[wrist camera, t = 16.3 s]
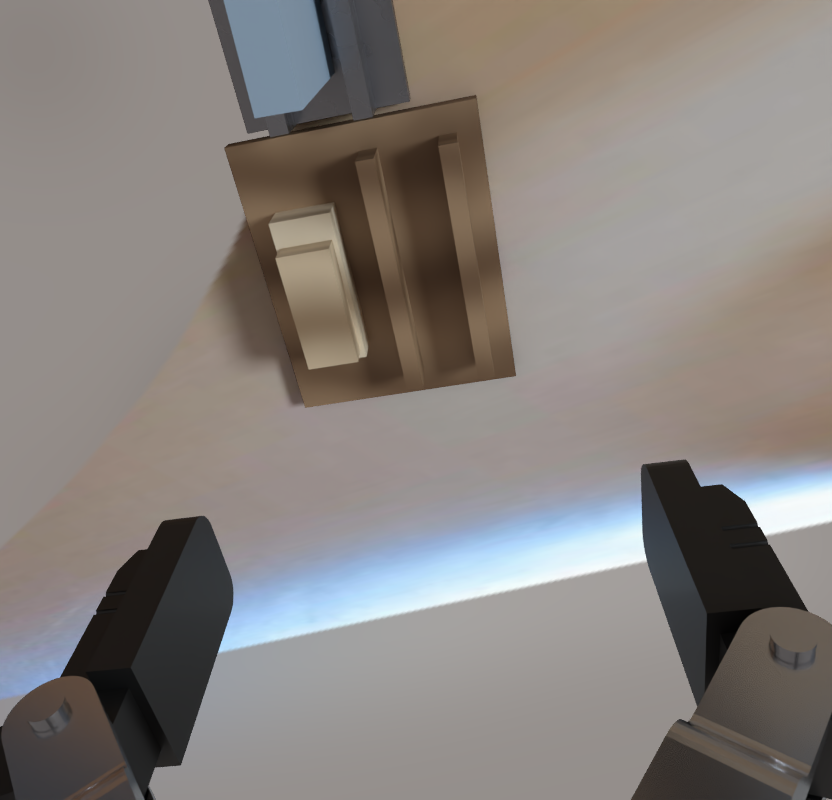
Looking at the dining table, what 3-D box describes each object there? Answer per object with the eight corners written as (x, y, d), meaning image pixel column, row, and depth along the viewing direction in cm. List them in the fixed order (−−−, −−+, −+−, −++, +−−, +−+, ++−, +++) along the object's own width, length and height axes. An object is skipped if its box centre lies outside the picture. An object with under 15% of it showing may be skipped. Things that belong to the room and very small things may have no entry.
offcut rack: (228, 144, 42) (212, 159, 39) (475, 95, 40) (478, 106, 37) (307, 399, 51) (299, 428, 48) (514, 368, 49) (519, 395, 46)
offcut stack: (275, 212, 43) (262, 232, 40) (334, 202, 43) (326, 221, 40) (315, 350, 48) (306, 377, 45) (369, 342, 47) (364, 368, 44)
